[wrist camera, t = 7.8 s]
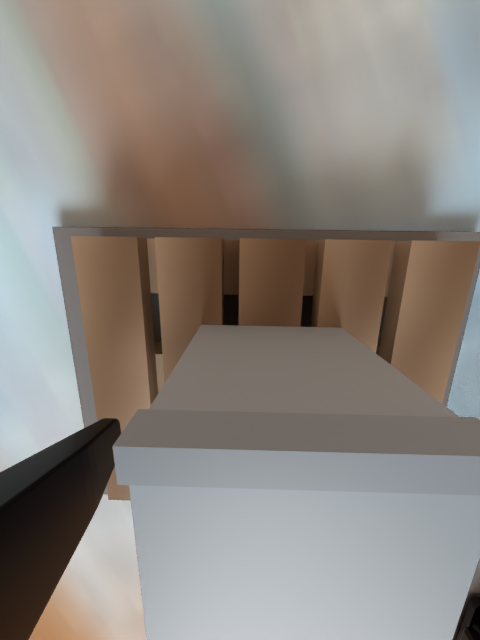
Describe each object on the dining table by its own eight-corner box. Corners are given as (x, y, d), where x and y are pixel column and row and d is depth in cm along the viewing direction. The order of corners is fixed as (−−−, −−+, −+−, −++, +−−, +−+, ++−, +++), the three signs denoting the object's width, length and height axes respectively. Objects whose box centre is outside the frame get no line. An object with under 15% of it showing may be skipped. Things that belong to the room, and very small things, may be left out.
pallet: (436, 244, 11) (489, 241, 8) (393, 464, 13) (424, 508, 11) (101, 239, 11) (61, 236, 8) (126, 457, 14) (101, 499, 11)
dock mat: (475, 233, 11) (488, 232, 10) (415, 493, 15) (422, 503, 14) (62, 228, 11) (52, 226, 11) (100, 484, 15) (95, 494, 14)
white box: (344, 324, 9) (532, 458, 3) (329, 448, 10) (442, 708, 4) (198, 321, 9) (112, 446, 3) (201, 445, 10) (144, 695, 5)
